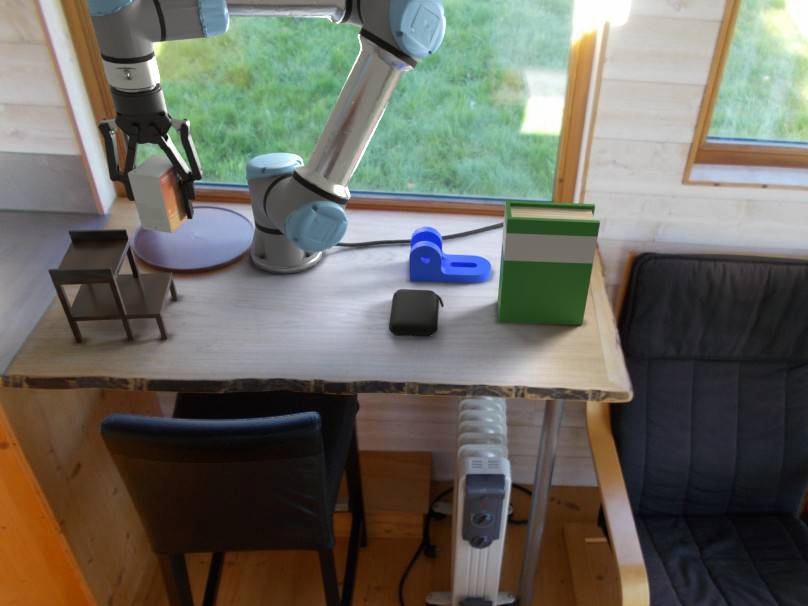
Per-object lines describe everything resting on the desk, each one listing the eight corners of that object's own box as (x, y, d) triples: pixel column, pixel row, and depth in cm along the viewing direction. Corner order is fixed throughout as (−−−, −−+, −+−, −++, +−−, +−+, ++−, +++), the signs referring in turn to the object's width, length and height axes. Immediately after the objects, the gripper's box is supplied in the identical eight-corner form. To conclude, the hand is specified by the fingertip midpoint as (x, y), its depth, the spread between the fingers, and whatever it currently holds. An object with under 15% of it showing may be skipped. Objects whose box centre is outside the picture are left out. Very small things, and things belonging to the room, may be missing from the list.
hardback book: (578, 304, 161) (594, 204, 145) (582, 324, 156) (600, 222, 140) (497, 301, 159) (505, 200, 144) (499, 322, 154) (507, 219, 138)
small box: (172, 234, 129) (158, 178, 122) (141, 229, 129) (126, 172, 122) (194, 213, 135) (182, 158, 128) (165, 208, 135) (152, 153, 128)
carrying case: (442, 341, 148) (443, 299, 159) (442, 329, 146) (444, 287, 157) (388, 339, 147) (393, 297, 158) (387, 327, 145) (393, 285, 156)
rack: (178, 297, 152) (160, 228, 141) (167, 339, 142) (146, 267, 131) (94, 300, 149) (69, 230, 138) (76, 343, 139) (48, 270, 128)
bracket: (409, 280, 163) (409, 245, 157) (411, 260, 169) (411, 225, 163) (491, 283, 165) (493, 248, 159) (489, 263, 171) (492, 229, 165)
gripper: (59, 92, 111) (101, 227, 126) (200, 93, 116) (225, 224, 130) (71, 75, 117) (110, 206, 132) (205, 77, 121) (228, 204, 136)
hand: (167, 215), depth 131 cm, fingers closed on small box, 7 cm apart
